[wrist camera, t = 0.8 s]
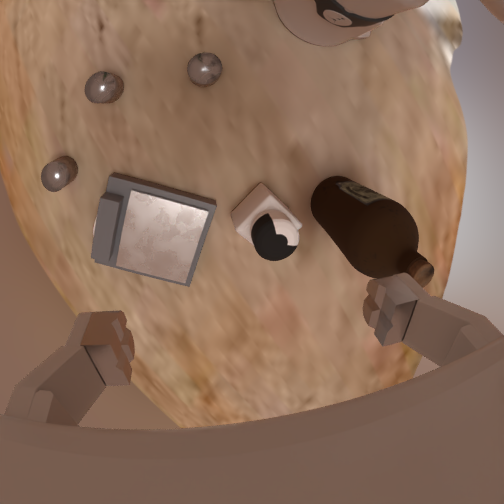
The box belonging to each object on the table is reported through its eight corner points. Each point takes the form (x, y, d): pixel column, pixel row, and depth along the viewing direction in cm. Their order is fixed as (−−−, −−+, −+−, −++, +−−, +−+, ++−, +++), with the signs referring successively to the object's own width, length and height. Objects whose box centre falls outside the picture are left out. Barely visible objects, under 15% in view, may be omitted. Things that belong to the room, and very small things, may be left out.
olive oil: (351, 233, 54) (432, 315, 32) (300, 225, 51) (369, 316, 30) (368, 179, 49) (468, 239, 28) (316, 166, 47) (409, 224, 25)
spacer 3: (195, 54, 36) (194, 48, 31) (224, 63, 37) (227, 58, 33) (184, 81, 38) (182, 78, 33) (213, 90, 39) (214, 88, 35)
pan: (132, 189, 41) (131, 190, 40) (208, 210, 45) (208, 211, 44) (116, 263, 46) (115, 265, 45) (185, 280, 50) (185, 283, 49)
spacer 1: (57, 153, 38) (43, 159, 34) (80, 159, 40) (68, 165, 35) (52, 180, 40) (39, 188, 36) (75, 185, 41) (63, 194, 37)
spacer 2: (101, 72, 34) (90, 69, 30) (127, 77, 35) (119, 74, 31) (92, 100, 36) (80, 100, 31) (118, 105, 37) (108, 105, 33)
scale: (110, 171, 42) (100, 180, 37) (215, 200, 47) (218, 212, 42) (95, 254, 47) (86, 270, 42) (189, 278, 53) (189, 296, 48)
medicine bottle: (260, 239, 51) (277, 276, 41) (229, 213, 48) (239, 246, 38) (290, 209, 50) (315, 240, 39) (260, 181, 47) (279, 205, 36)
